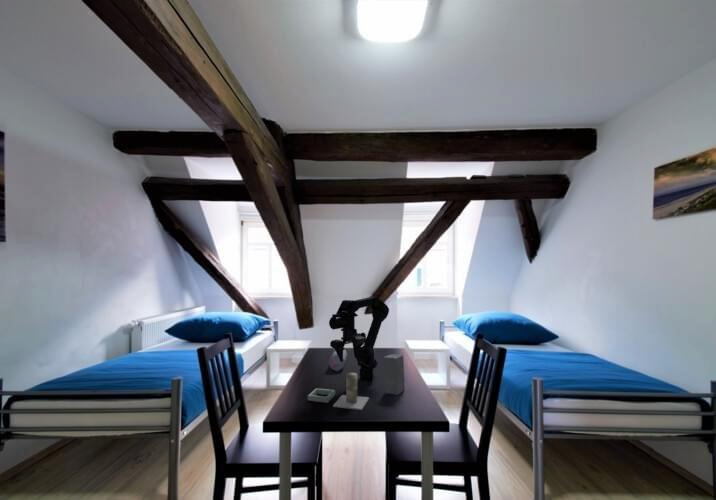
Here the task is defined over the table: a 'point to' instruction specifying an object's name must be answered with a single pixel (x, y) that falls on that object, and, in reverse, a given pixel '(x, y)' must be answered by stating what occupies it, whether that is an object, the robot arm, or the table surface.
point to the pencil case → (337, 361)
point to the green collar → (326, 399)
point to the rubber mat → (358, 405)
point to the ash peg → (351, 387)
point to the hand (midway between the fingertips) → (348, 359)
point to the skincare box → (394, 374)
